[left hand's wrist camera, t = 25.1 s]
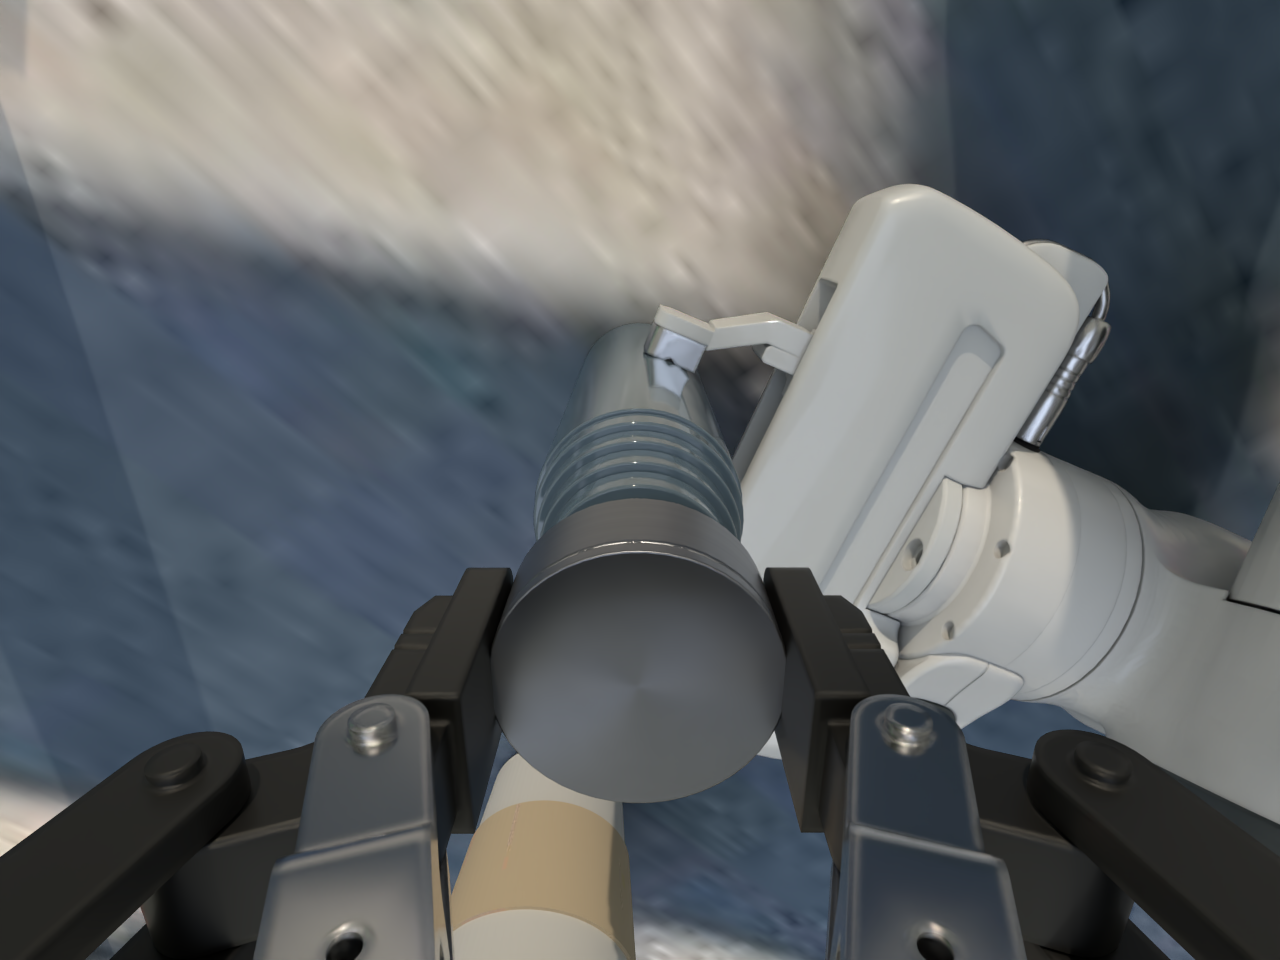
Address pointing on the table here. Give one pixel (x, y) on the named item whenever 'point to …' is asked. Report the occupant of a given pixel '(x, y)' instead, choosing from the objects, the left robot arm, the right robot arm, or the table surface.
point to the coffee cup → (544, 876)
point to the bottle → (637, 439)
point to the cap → (638, 654)
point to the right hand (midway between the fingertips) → (614, 416)
